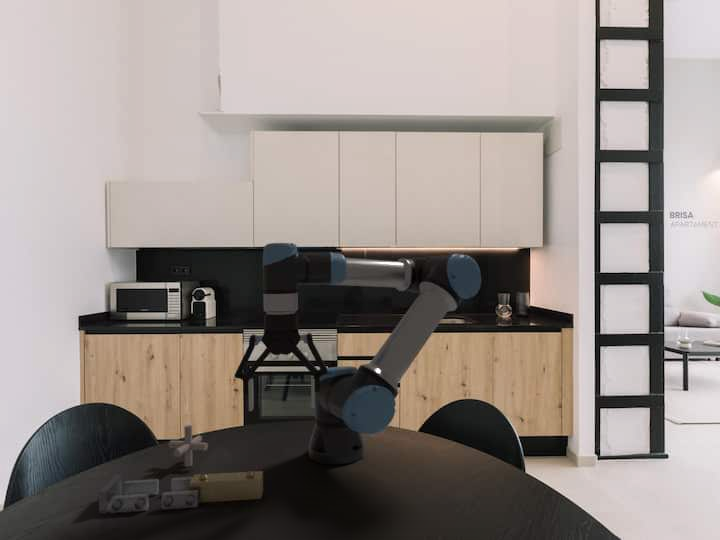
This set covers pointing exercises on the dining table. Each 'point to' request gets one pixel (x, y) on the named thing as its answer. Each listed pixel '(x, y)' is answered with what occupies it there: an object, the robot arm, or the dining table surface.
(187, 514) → the dining table surface
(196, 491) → the chain end
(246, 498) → the link
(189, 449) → the pipe connector
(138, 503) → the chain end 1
